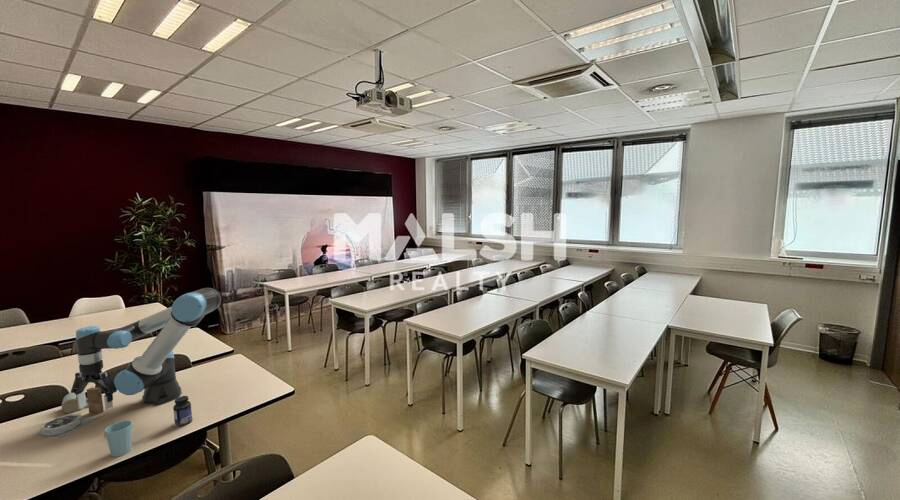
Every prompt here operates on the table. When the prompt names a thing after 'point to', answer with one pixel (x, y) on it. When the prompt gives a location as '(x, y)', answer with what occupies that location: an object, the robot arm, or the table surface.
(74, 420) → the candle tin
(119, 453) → the cup
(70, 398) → the ceramic mug
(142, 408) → the table surface
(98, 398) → the brown wooden block
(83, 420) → the slate board
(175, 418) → the pill bottle
